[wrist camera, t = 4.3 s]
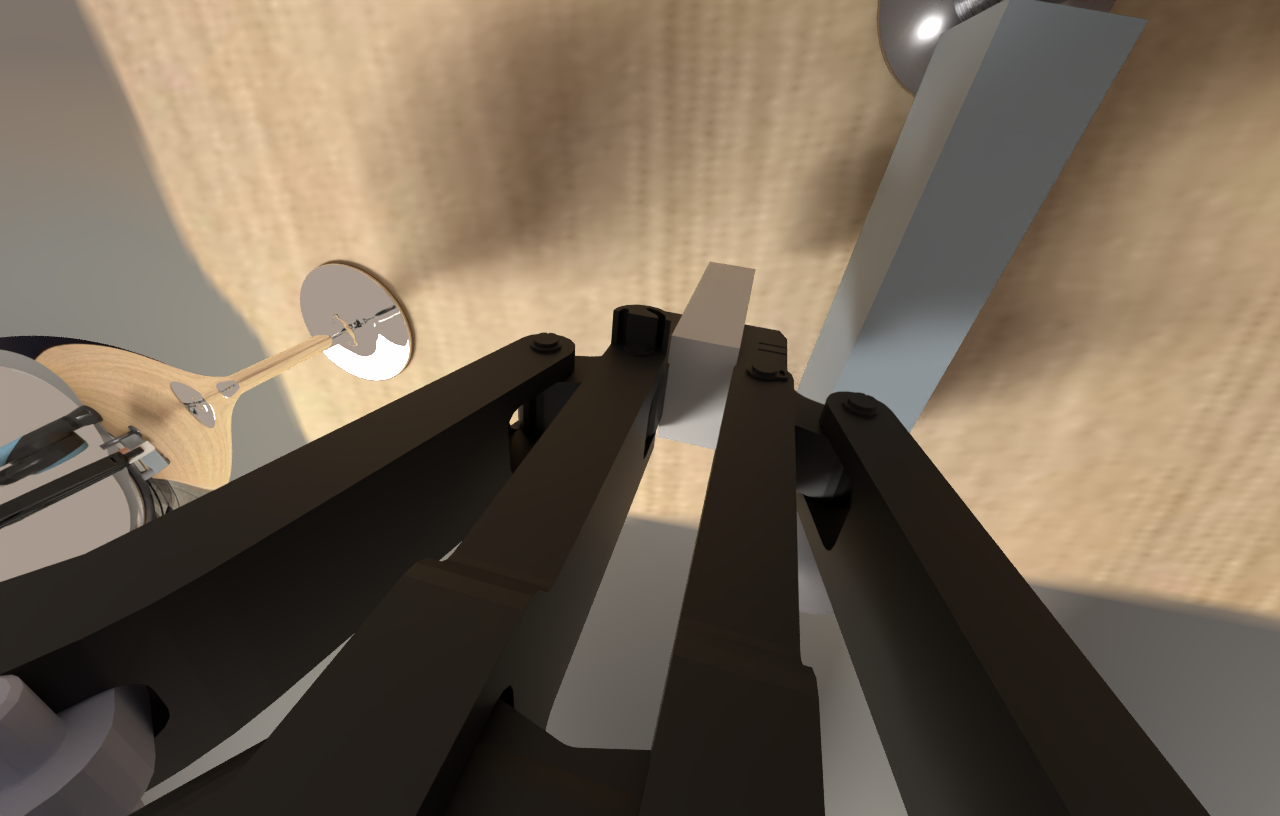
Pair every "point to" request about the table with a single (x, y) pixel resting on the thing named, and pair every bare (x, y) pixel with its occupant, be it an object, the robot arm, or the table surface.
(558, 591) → the robot arm
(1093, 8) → the hinge post
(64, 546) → the wineglass
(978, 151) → the gate
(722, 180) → the table surface
